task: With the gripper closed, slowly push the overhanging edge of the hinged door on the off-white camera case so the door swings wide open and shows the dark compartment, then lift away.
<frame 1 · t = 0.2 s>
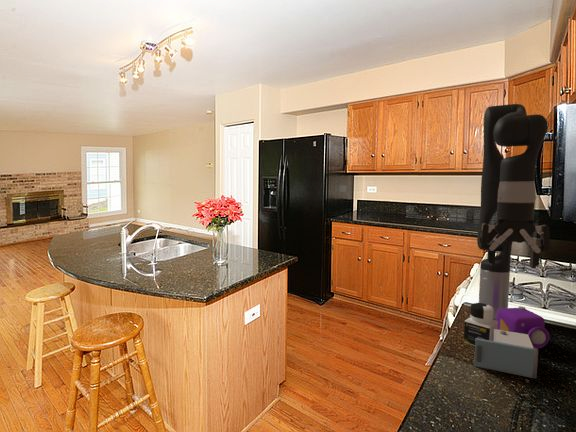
hand: (511, 266, 84), 28 cm above the worktop, tool pointing down, fingers open, 8 cm apart
camera case: (511, 363, 92), on the worktop
medicine bottle: (480, 343, 104), on the worktop
case door: (505, 358, 87), point 4 cm above the worktop, hinge at 0.0°
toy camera: (522, 344, 103), on the worktop
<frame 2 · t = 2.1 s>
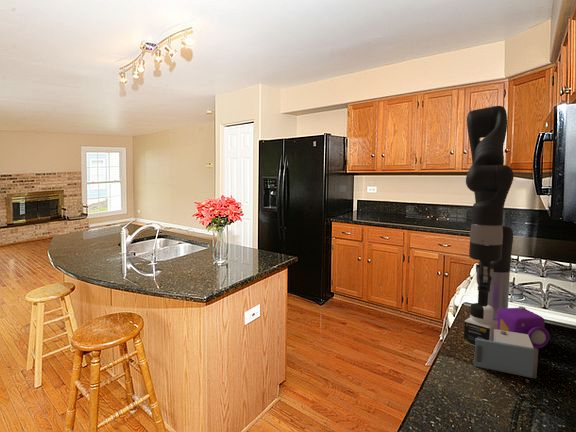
hand: (482, 304, 92), 16 cm above the worktop, tool pointing down, fingers closed
nothing on the worktop moved.
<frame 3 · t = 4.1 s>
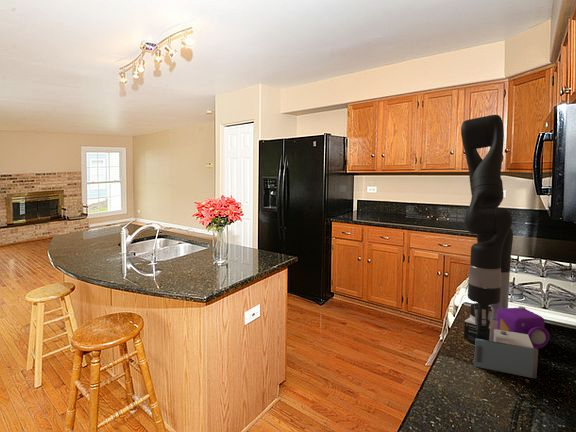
hand: (481, 345, 92), 5 cm above the worktop, tool pointing down, fingers closed
case door: (505, 358, 87), point 4 cm above the worktop, hinge at 0.9°, touching gripper
everything else where it was.
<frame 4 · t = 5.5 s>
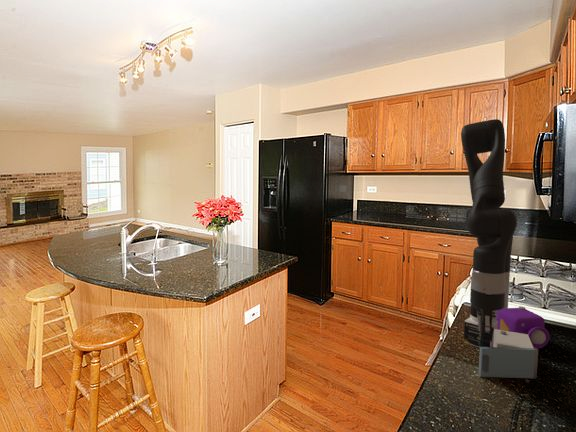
hand: (484, 352, 88), 5 cm above the worktop, tool pointing down, fingers closed
case door: (509, 363, 85), point 4 cm above the worktop, hinge at 23.0°, touching gripper
everything else where it was.
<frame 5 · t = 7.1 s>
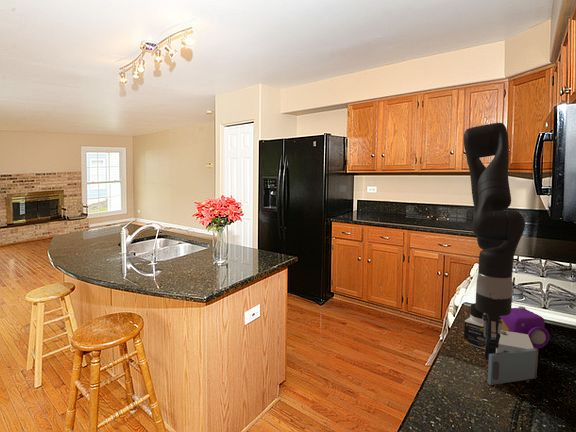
hand: (489, 358, 85), 5 cm above the worktop, tool pointing down, fingers closed
case door: (514, 366, 83), point 4 cm above the worktop, hinge at 39.1°, touching gripper
everything else where it was.
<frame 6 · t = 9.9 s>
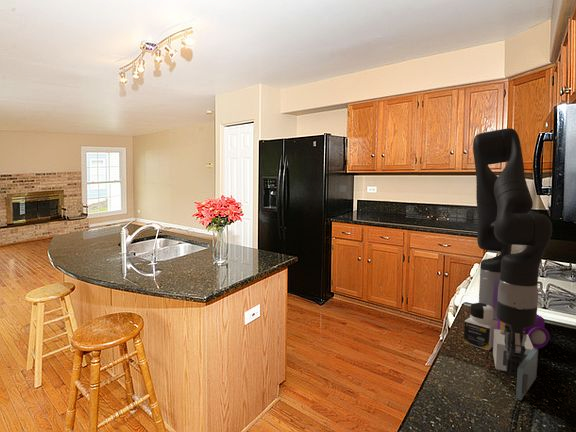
hand: (512, 373, 79), 5 cm above the worktop, tool pointing down, fingers closed
case door: (529, 373, 80), point 4 cm above the worktop, hinge at 69.2°, touching gripper
everything else where it was.
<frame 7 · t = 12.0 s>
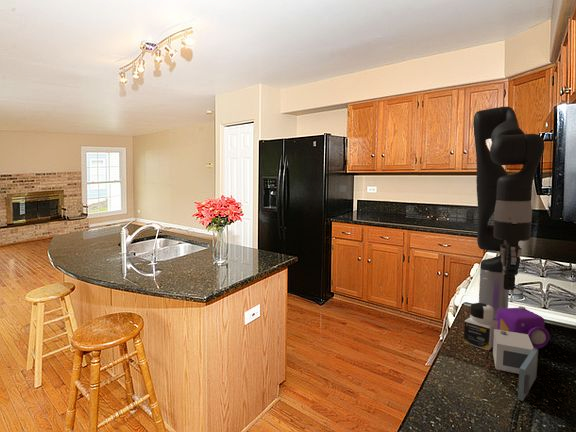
hand: (508, 289, 84), 23 cm above the worktop, tool pointing down, fingers closed
case door: (530, 373, 80), point 4 cm above the worktop, hinge at 70.8°
everything else where it was.
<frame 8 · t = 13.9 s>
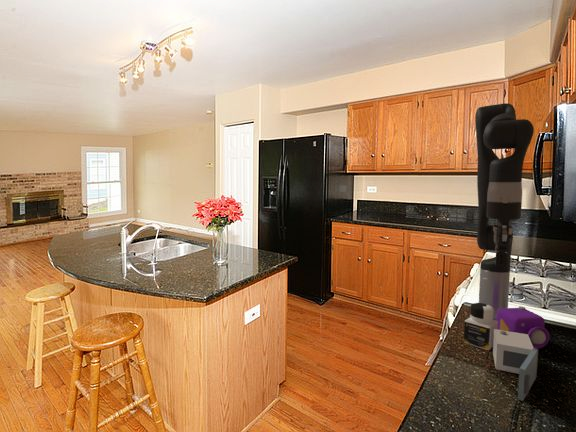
hand: (500, 266, 89), 27 cm above the worktop, tool pointing down, fingers closed
nothing on the worktop moved.
at the end: case door at +71° (first picture: +0°); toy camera moved 0.3 cm from its start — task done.
